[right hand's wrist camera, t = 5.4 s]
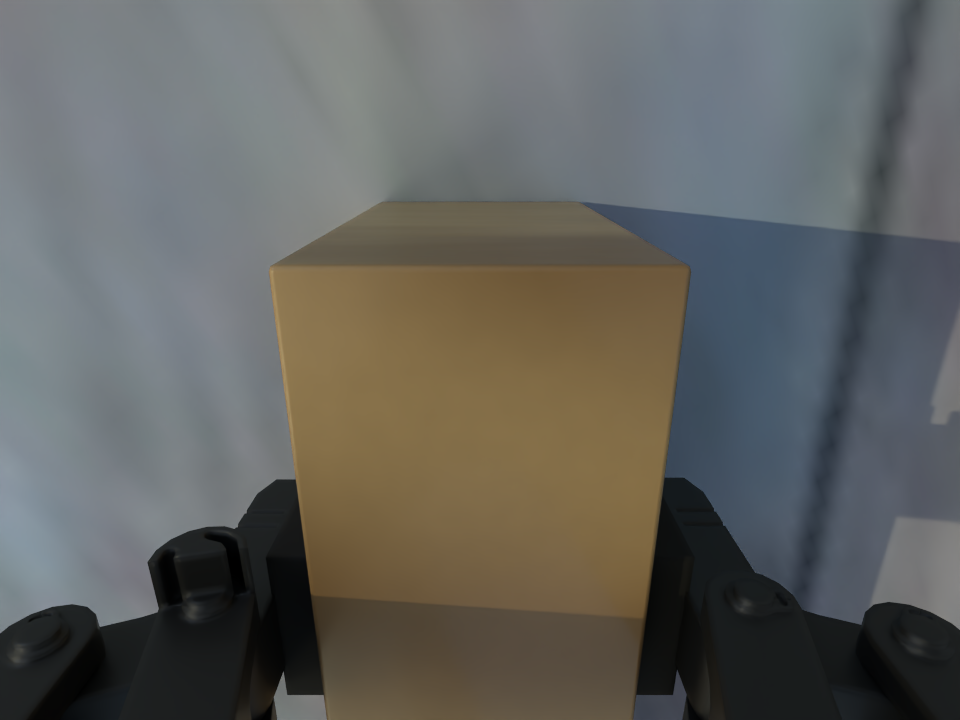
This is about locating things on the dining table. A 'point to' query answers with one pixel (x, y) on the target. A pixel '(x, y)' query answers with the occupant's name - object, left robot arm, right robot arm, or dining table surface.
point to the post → (480, 454)
